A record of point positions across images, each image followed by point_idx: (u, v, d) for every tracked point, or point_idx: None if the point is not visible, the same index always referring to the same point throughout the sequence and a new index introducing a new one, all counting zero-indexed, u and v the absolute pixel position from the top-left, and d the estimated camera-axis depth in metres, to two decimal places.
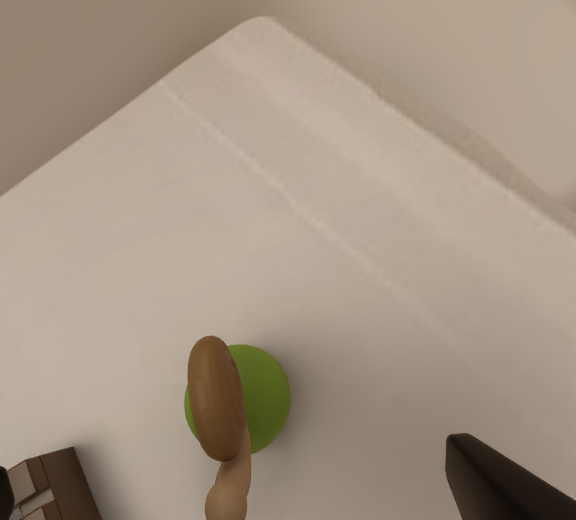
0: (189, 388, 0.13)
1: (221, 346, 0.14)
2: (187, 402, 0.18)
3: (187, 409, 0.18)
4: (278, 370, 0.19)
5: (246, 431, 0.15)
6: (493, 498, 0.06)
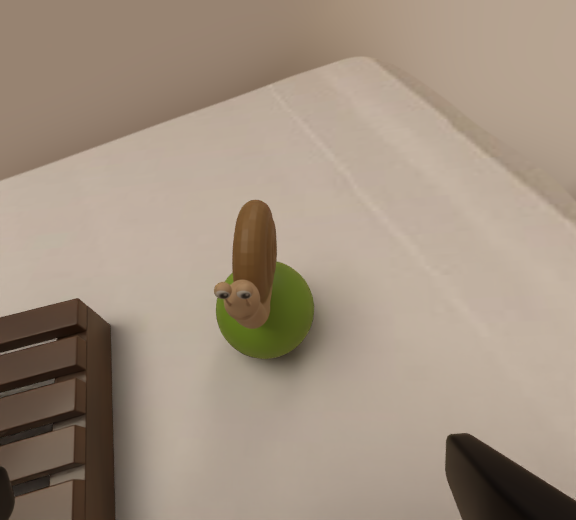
0: (238, 218, 0.15)
1: (270, 211, 0.16)
2: None
3: None
4: (308, 288, 0.20)
5: (268, 303, 0.17)
6: (493, 498, 0.06)
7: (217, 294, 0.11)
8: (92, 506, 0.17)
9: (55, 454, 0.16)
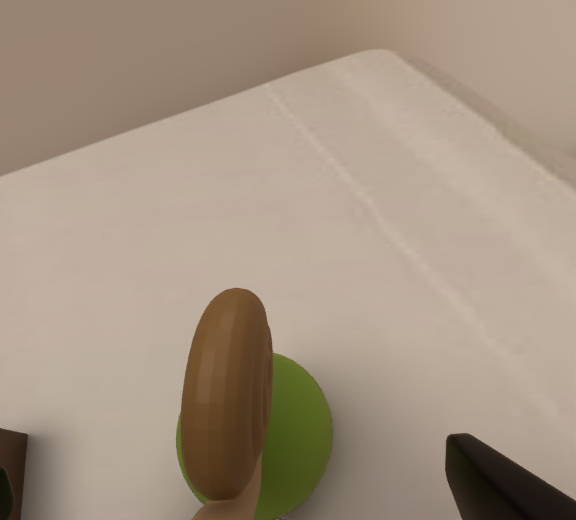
0: (194, 340, 0.07)
1: (261, 306, 0.09)
2: None
3: None
4: (323, 403, 0.13)
5: (258, 469, 0.09)
6: (493, 498, 0.06)
7: None
8: None
9: None
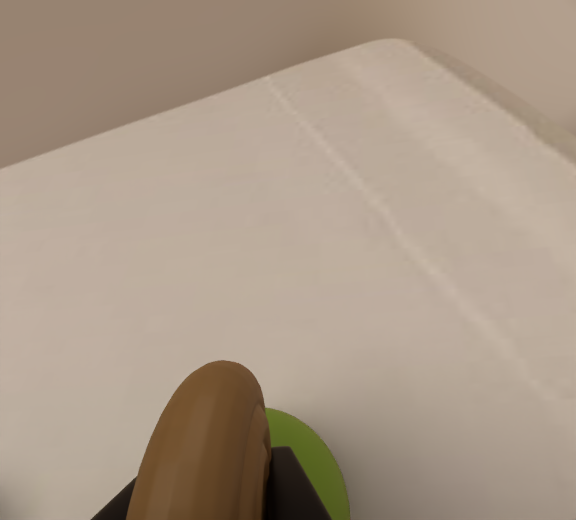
0: (139, 475, 0.04)
1: (253, 391, 0.06)
2: None
3: None
4: (339, 482, 0.10)
5: None
6: (268, 514, 0.06)
7: None
8: None
9: None
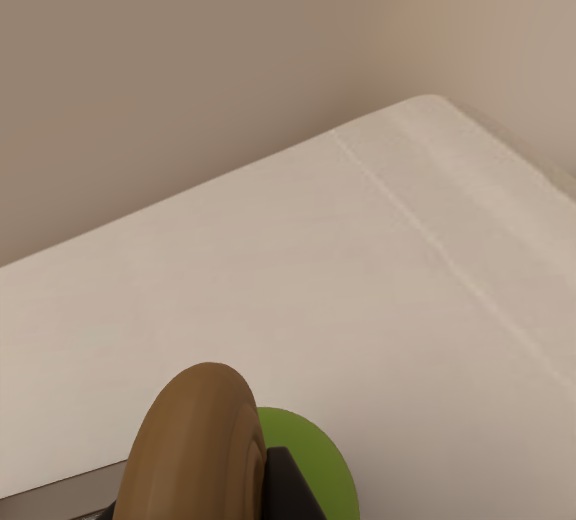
0: (121, 483, 0.04)
1: (237, 389, 0.06)
2: None
3: None
4: (344, 475, 0.10)
5: None
6: None
7: None
8: None
9: None
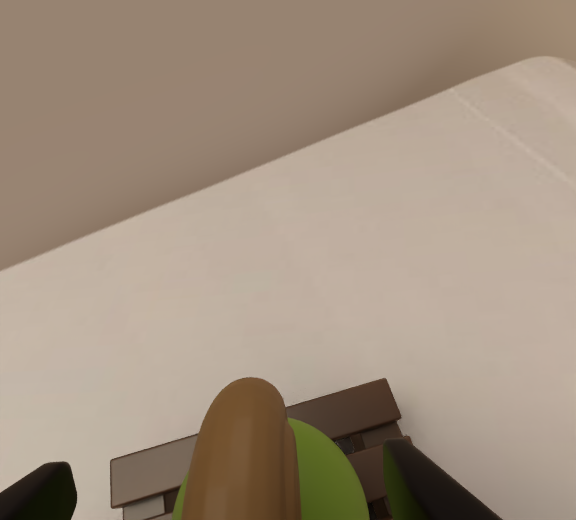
0: (186, 503, 0.04)
1: (281, 406, 0.06)
2: (178, 511, 0.09)
3: None
4: (357, 484, 0.10)
5: None
6: (412, 504, 0.06)
7: None
8: None
9: None
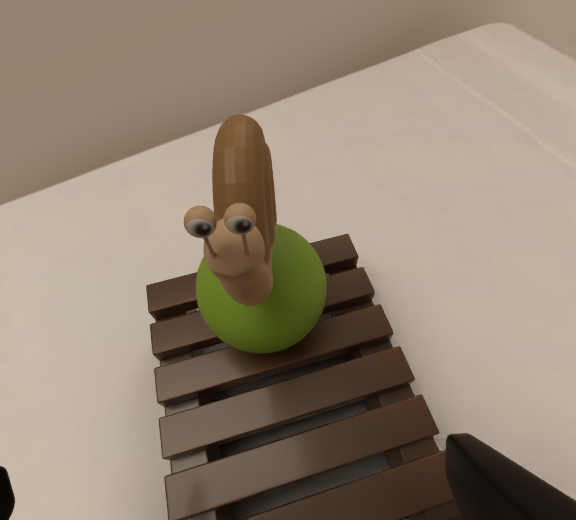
0: (216, 137, 0.10)
1: None
2: (202, 263, 0.15)
3: (200, 271, 0.14)
4: (317, 255, 0.15)
5: (270, 270, 0.12)
6: (493, 498, 0.06)
7: (190, 227, 0.06)
8: None
9: (393, 372, 0.16)
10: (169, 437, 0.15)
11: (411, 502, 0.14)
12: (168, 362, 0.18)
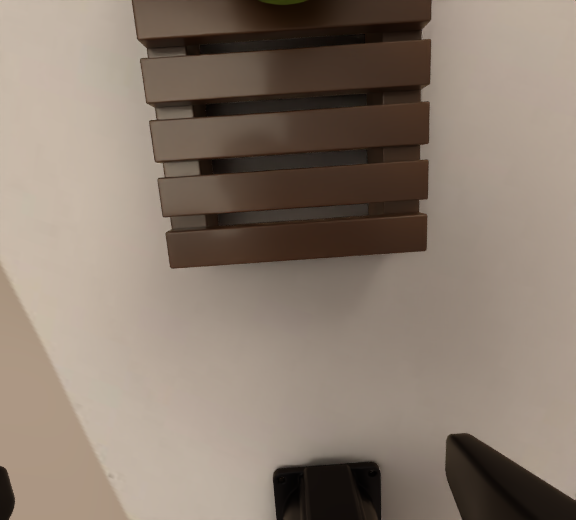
0: None
1: None
2: None
3: None
4: None
5: None
6: (493, 498, 0.06)
7: None
8: None
9: (409, 70, 0.14)
10: (152, 82, 0.14)
11: (376, 193, 0.15)
12: None
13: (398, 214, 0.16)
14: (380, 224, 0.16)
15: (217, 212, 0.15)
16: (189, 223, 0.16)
